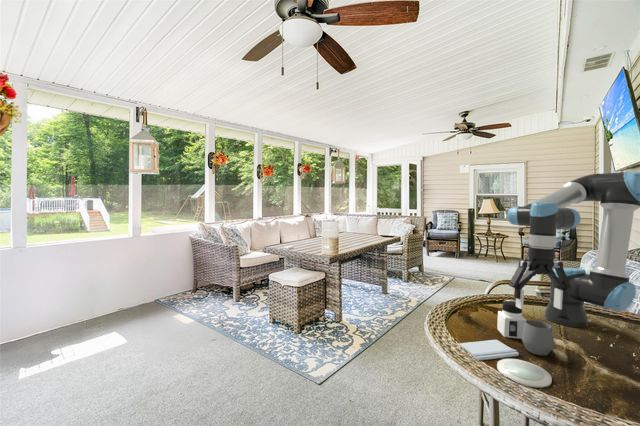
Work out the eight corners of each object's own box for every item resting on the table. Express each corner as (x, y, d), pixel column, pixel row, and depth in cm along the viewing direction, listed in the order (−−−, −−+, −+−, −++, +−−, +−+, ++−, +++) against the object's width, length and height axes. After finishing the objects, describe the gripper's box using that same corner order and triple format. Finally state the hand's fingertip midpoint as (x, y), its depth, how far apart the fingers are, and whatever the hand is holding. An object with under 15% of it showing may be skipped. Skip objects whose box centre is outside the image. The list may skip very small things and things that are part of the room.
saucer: (529, 361, 102) (529, 357, 102) (564, 387, 88) (564, 383, 88) (487, 361, 102) (487, 358, 102) (515, 387, 88) (516, 384, 88)
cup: (542, 361, 102) (543, 331, 102) (514, 348, 111) (516, 321, 110) (559, 355, 106) (561, 326, 106) (531, 343, 115) (533, 317, 114)
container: (526, 339, 118) (527, 305, 117) (504, 337, 120) (505, 304, 119) (517, 330, 126) (519, 299, 125) (496, 329, 127) (498, 297, 126)
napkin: (496, 342, 116) (496, 338, 115) (518, 355, 106) (518, 352, 106) (458, 346, 112) (458, 342, 112) (477, 360, 103) (477, 356, 102)
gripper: (568, 245, 111) (564, 304, 112) (499, 245, 110) (496, 303, 111) (586, 249, 103) (582, 312, 104) (513, 248, 102) (510, 311, 103)
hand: (538, 308), depth 108 cm, fingers open, 13 cm apart
